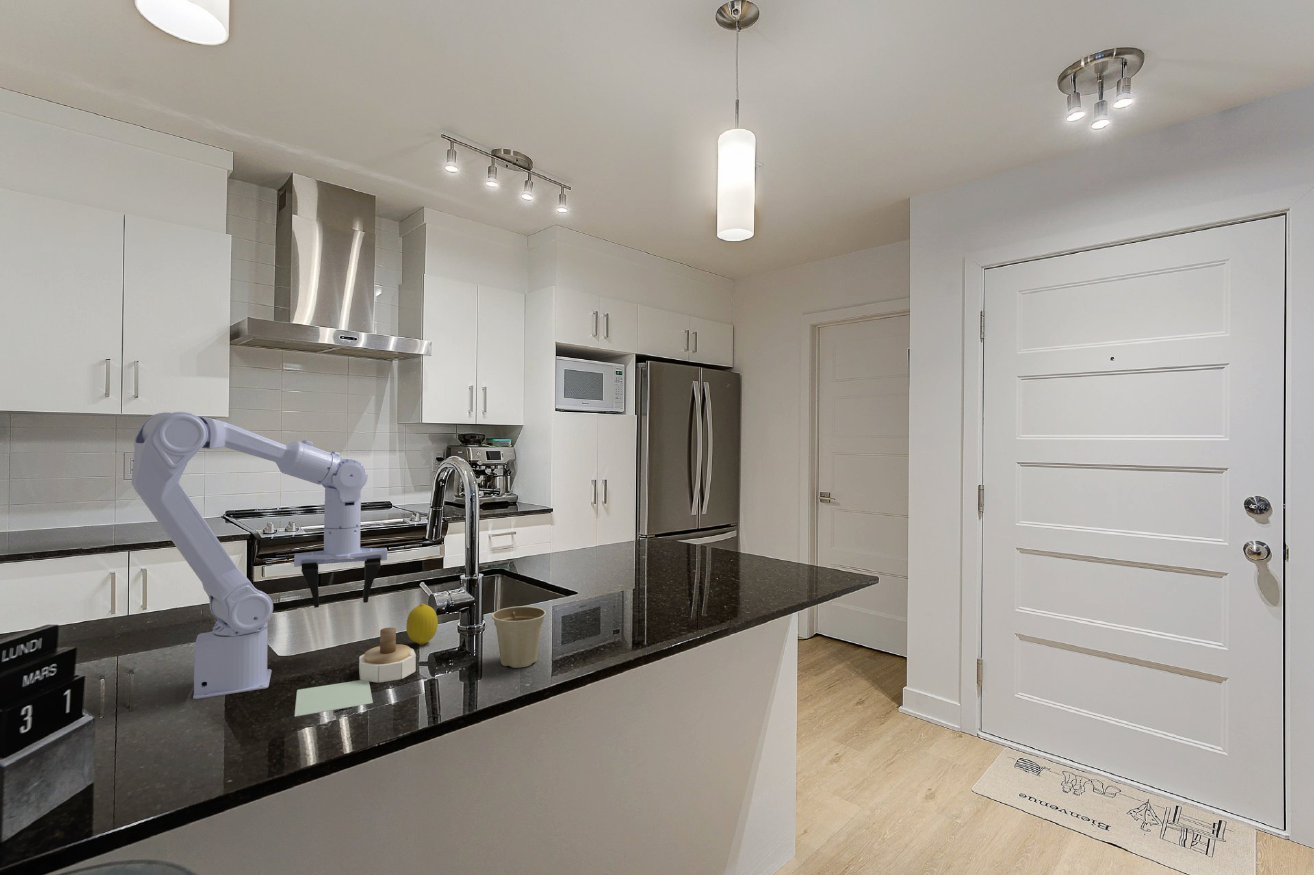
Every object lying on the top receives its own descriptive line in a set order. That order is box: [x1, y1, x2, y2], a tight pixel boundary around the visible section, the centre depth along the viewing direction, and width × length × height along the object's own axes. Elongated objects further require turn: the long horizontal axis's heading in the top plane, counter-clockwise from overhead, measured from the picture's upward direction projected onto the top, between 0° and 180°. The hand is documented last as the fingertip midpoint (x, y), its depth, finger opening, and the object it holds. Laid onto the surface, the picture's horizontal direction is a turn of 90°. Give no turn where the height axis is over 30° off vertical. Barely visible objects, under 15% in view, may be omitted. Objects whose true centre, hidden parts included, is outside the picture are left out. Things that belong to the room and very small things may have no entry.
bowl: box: [358, 648, 417, 683], centre depth 104 cm, size 8×8×3 cm
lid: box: [364, 627, 411, 664], centre depth 104 cm, size 7×7×4 cm
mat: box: [294, 679, 374, 718], centre depth 94 cm, size 10×10×1 cm
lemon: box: [406, 602, 439, 646], centre depth 118 cm, size 6×6×8 cm
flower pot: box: [491, 605, 547, 669], centre depth 110 cm, size 9×9×9 cm
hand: (341, 603), depth 110 cm, fingers open, 7 cm apart
